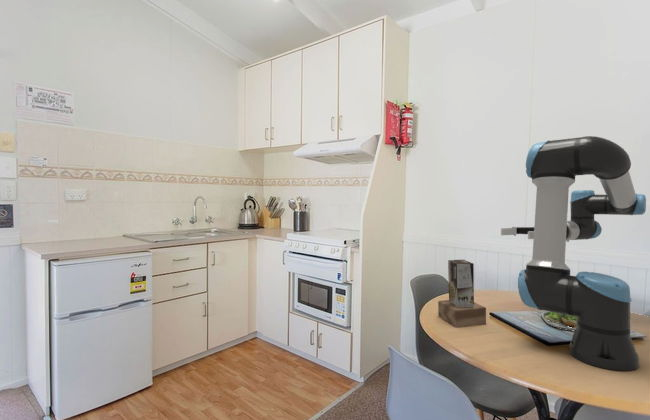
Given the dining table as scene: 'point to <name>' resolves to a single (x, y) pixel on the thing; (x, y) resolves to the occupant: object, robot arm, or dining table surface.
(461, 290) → the coffee box
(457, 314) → the walnut stand
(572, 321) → the salad plate
